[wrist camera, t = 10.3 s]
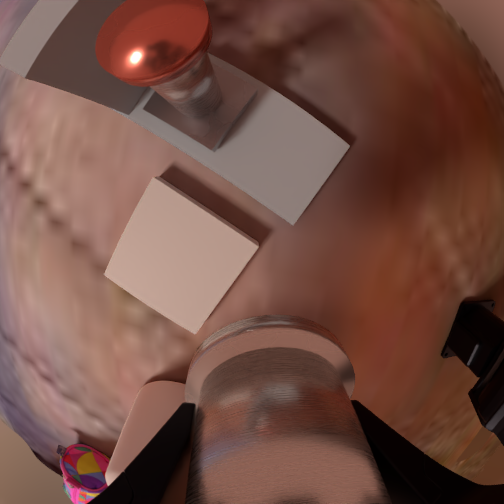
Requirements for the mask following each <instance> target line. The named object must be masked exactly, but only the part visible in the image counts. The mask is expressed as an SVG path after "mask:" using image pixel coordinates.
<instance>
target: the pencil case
mask: <svg viewBox="0 0 504 504" xmlns="http://www.w3.org/2000/svg"><path fill="white" fill-rule="evenodd" d="M57 453H58V454H60V455H61V458H60V466H61V469H62V471H63V474H62V476H63V478H64V483H63V489H64V491H65V492H66V494H67V495H68V497H69V498H70V499H71V500H72V502H73V503H74V504H87V503H88V502H89V501H91V500H92V499H93V498H95V497H96V496H97V495H99V494H100V493H101V492H102V491H103V490H105V489H106V488H107V487H108V485H107V482H106V479H105V473H106V471H107V468H108V465H109V462H110V459H109V458H108V457H107V456H106V455H105V454H103V453H101V452H99V451H97V450H96V449H94V448H92V447H90V446H88V445H85V444H74V445H71V446H69V447H67V448H65V447H63V446H61V445H58V449H57Z"/></svg>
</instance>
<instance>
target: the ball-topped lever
mask: <svg viewBox="0 0 504 504" xmlns="http://www.w3.org/2000/svg"><path fill="white" fill-rule="evenodd" d="M211 38H212V25H211V21H210V18H209V14H208V10H207V7H206V4H205V2H204V1H203V0H126V1H125V2H124V3H122V4H121V5H120V6H119V7H117V8H116V9H115V10H114V11H113V12H112V13H111V14H110V15H109V17H108V18H107V19H106V20H105V22H104V24H103V25H102V27H101V29H100V31H99V33H98V36H97V40H96V46H95V52H96V57H97V60H98V62H99V64H100V65H101V66H102V68H103V69H105V70H106V71H107V72H109V73H110V74H112V75H114V76H115V77H117V78H118V79H120V80H121V81H123V82H125V83H127V84H129V85H133V86H140V87H149V86H150V87H151V88H152V89H153V90H155V92H154V93H153V94H152V96H151V97H150V99H149V100H148V102H147V103H146V105H145V106H144V108H143V110H145V111H147V112H148V113H150V114H152V115H154V116H155V117H157V118H159V119H161V120H162V121H164V122H166V123H167V124H169V125H171V126H172V127H174V128H176V129H177V130H179V131H181V132H182V133H184V134H186V135H187V136H189V137H191V138H192V139H194V140H196V141H197V142H199V143H200V144H202V145H204V146H205V147H207V148H208V149H210V150H211V151H213V152H215V151H216V150H217V148H218V147H219V146H220V144H221V143H222V141H223V140H224V139H225V137H226V136H227V134H228V133H229V132H230V130H231V129H232V127H233V126H234V125H235V123H236V122H237V121H238V119H239V118H240V117H241V115H242V114H243V113H244V111H245V110H246V109H247V107H248V106H249V105H250V104H251V102H252V101H253V100H254V98H255V97H256V96H257V92H258V88H256V87H254V86H253V85H251V84H249V83H248V82H246V81H244V80H243V79H241V78H239V77H237V76H236V75H234V74H232V73H230V72H228V71H227V70H225V69H223V68H221V67H219V66H217V65H215V64H213V63H211V61H210V58H209V55H208V52H207V49H208V47H209V44H210V42H211Z"/></svg>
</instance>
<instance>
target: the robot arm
mask: <svg viewBox="0 0 504 504" xmlns="http://www.w3.org/2000/svg"><path fill="white" fill-rule="evenodd" d="M494 306H495V301H494V300H483V301H471V302H463V303H462V304H461V305H460V307H459V310H458V313H457V316H456V319H455V321H454V324H453V327H452V329H451V332H450V334H449V337H448V339H447V341H446V344H445V346H444V348H443V351H442V353H441V356H442V357H443V358H448V357H452V356H457V357H458V358H459V359H460V360H461V361H462V362H463V363H464V364H465V365H466V366H467V367H469V369H470V370H471V371H472V372H473V373H474V374H475V375H476V376H477V377H480V378H479V380H478V381H477V383H476V384H475V385H474V387H473V388H472V389H471V390H470V391H469V392H468V395H469V397H470V399H471V402H472V404H473V406H474V408H475V411H476V413H477V415H478V417H479V420H480V422H481V424H482V426H484V427H485V428H487V429H488V430H489V431H491V432H494V433H495V434H496V436H497V437H498V438H499V440H500V441H501V443H502V444H503V446H504V321H503V320H501V319H500V318H499V317H497V316H496V315H495V314H493V313H492V312H493V309H494ZM351 403H352V405H353V408H354V410H355V412H356V415H357V417H358V419H359V422H360V424H361V427H362V429H363V431H364V434H365V436H366V439H367V441H368V444H369V446H370V448H371V451H372V453H373V456H374V458H375V461H376V463H377V466H378V468H379V471H380V474H381V476H382V479H383V481H384V484H385V487H386V489H387V492H388V494H389V497H390V500H391V502H392V504H504V484H500V485H480V484H477V483H474V482H472V481H470V480H468V479H466V478H464V477H462V476H460V475H458V474H456V473H454V472H452V471H451V470H449V469H447V468H445V467H444V466H442V465H441V464H439V463H438V462H436V461H435V460H433V459H432V458H430V457H429V456H428V455H426V454H424V453H423V452H422V451H421V450H419V449H418V448H417V447H415V446H414V445H413V444H411V443H410V442H409V441H408V440H406V439H405V438H404V437H402V436H401V435H400V434H398V433H397V432H396V431H395V430H393V429H392V428H391V427H390V426H388V425H387V424H386V423H384V422H383V421H382V420H381V419H379V418H378V417H377V416H376V415H374V414H373V413H372V412H371V411H370V410H368V409H367V408H366V407H365V406H363V405H362V404H361V403H360V402H359V401H357V400H351ZM196 414H197V408H196V404H195V403H189V402H183V403H182V404H181V405H180V406H179V407H178V409H177V410H176V411H175V412H174V413H173V415H172V416H171V417H170V418H169V419H168V420H167V422H166V423H165V424H164V425H163V426H162V428H161V429H160V430H159V431H158V432H157V433H156V434H155V436H154V437H153V438H152V439H151V440H150V441H149V443H148V444H147V445H146V446H145V447H144V448H143V449H142V450H141V452H140V453H139V454H138V455H137V456H136V457H135V458H134V459H133V461H132V462H131V463H130V464H129V465H128V466H127V467H126V468H125V469H124V472H121V474H120V475H119V476H118V477H117V478H116V479H115V480H114V481H113V482H112V483H111V484H110V485H109V486H108V487H107V488H106V489H105V490H103V491H102V492H101V493H100V494H99V495H97V496H96V497H95V498H93V499H92V500H91V501H89V502H88V503H87V504H185V498H186V489H187V481H188V473H189V465H190V457H191V450H192V442H193V435H194V428H195V421H196Z"/></svg>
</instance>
